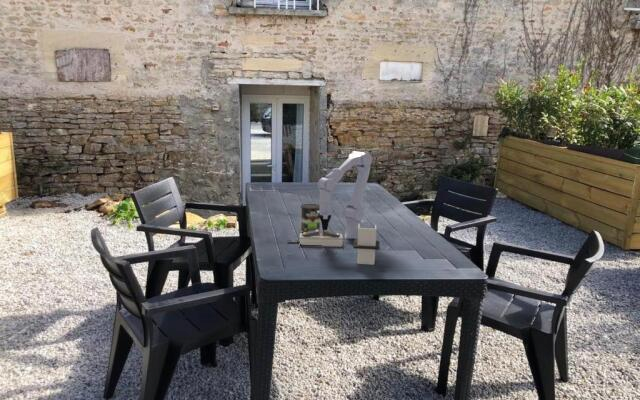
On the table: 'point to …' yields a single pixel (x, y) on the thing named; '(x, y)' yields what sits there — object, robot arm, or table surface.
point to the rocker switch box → (321, 240)
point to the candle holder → (366, 245)
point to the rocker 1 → (311, 233)
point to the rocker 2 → (330, 233)
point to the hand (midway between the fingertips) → (324, 229)
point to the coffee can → (310, 217)
